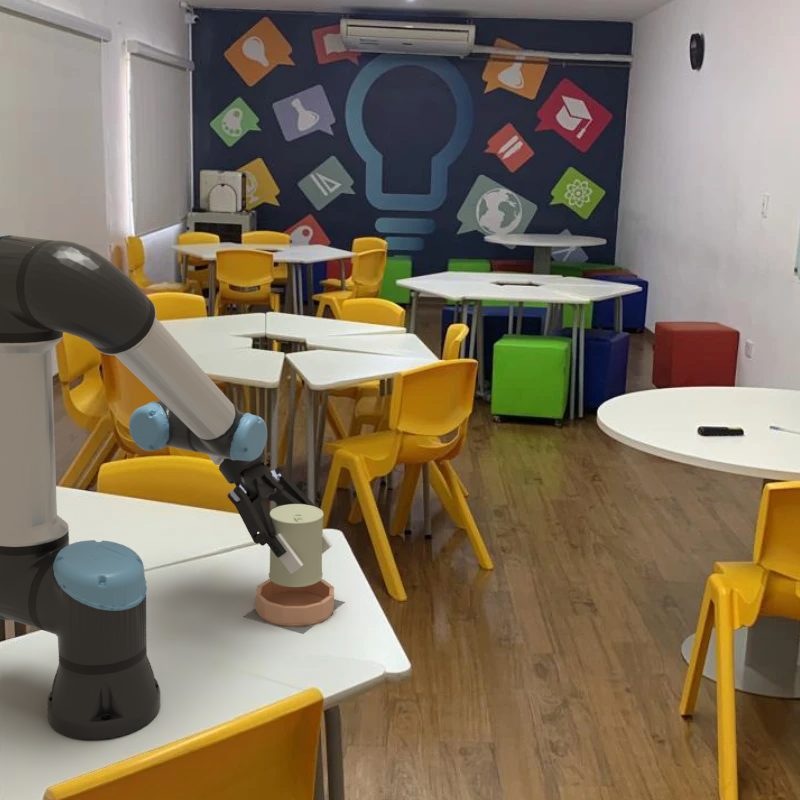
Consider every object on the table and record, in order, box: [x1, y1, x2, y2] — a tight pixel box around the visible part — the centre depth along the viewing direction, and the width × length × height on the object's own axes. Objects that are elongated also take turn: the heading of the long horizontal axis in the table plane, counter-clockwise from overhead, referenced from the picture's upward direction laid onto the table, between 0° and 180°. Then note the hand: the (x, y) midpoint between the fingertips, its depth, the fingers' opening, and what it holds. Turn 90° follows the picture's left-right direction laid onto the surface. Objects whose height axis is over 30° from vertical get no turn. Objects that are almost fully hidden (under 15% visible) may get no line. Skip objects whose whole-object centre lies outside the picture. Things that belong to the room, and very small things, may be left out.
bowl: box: [255, 578, 335, 627], centre depth 169 cm, size 13×13×3 cm
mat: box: [242, 598, 346, 635], centre depth 169 cm, size 14×12×1 cm
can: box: [268, 504, 324, 587], centre depth 166 cm, size 9×9×12 cm
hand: (312, 559), depth 166 cm, fingers closed on can, 9 cm apart
